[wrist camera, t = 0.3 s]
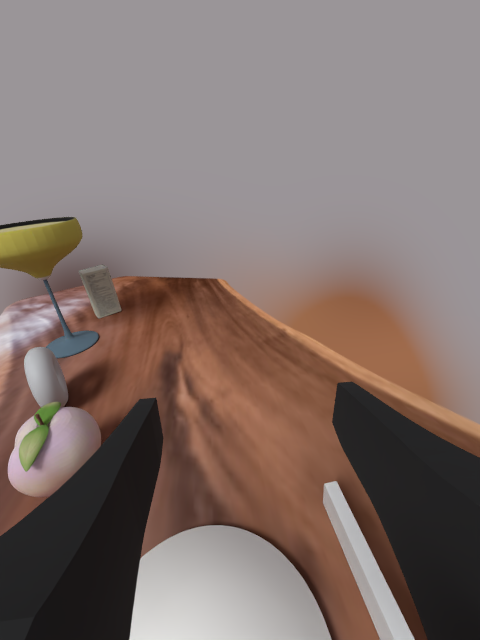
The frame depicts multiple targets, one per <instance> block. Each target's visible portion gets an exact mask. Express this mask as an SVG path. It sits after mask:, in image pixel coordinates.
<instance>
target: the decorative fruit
mask: <svg viewBox="0 0 480 640" xmlns="http://www.w3.org/2000/svg"><path fill="white" fill-rule="evenodd" d="M60 406H61V403H60V402H51V403H48V404H46V405H44V406H43V407H41V408H40V409H39V410H38V411H37V412H36V414H35V415H34V416H33V417H31V418H30V419H29V420H28V421H26V422H25V423H24V424H23V425H22V427H21V428H20V429H19V431H18V433H17V435H16V438H15V448H14V450H13V452H12V453H11V456H10V460H9V464H8V477H9V480H10V483H11V484H12V486H13V487H14V488H16V489H17V490H18V491H19V492H21V493H23V494H26V495H29V496H33V497H49V496H51V495H52V494H53V493H54V492H56V491H57V490H58V489H59V488H60V487H61V486H62V485H63V484H64V483H65V482H66V481H67V480H69V479H70V478H71V477H72V476H73V475H74V474H75V473H76V472H77V471H78V470H79V469H80V468H81V467H82V466H83V465H84V464H85V463H86V462H87V460H88V459H89V458H90V457H91V456H92V455H93V454H94V453H95V452H96V451H97V450H98V449H99V448H100V446H101V433H100V429H99V426H98V424H97V422H96V421H95V420H94V418H93V417H92V416H91V415H90V414H89V413H88V412H86V411H84V410H82V409H79V408H76V407H60Z"/></svg>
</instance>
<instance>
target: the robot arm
mask: <svg viewBox="0 0 480 640" xmlns="http://www.w3.org/2000/svg"><path fill="white" fill-rule="evenodd" d="M332 423H333V425H334V428H335V431H336V434H337V436H338V439H339V441H340V443H341V446H342V448H343V450H344V452H345V454H346V455H347V457H348V459H349V461H350V463H351V465H352V467H353V469H354V470H355V472H356V474H357V476H358V478H359V480H360V481H361V483H362V485H363V487H364V489H365V491H366V492H367V494H368V496H369V498H370V500H371V502H372V504H373V506H374V508H375V510H376V512H377V514H378V516H379V518H380V520H381V523H382V525H383V527H384V530H385V532H386V534H387V536H388V539H389V541H390V543H391V546H392V548H393V551H394V553H395V555H396V558H397V560H398V563H399V565H400V568H401V570H402V573H403V575H404V577H405V580H406V583H407V585H408V588H409V590H410V593H411V596H412V598H413V601H414V603H415V606H416V609H417V611H418V614H419V616H420V619H421V622H422V625H423V627H424V630H425V633H426V636H427V639H428V640H480V458H479V457H477V456H475V455H473V454H471V453H469V452H467V451H465V450H463V449H461V448H459V447H457V446H455V445H453V444H451V443H449V442H447V441H445V440H444V439H442V438H440V437H438V436H436V435H434V434H433V433H431V432H429V431H428V430H426V429H424V428H423V427H421V426H419V425H418V424H416V423H414V422H413V421H411V420H409V419H408V418H406V417H405V416H403V415H401V414H400V413H398V412H397V411H395V410H394V409H392V408H391V407H389V406H388V405H386V404H385V403H383V402H382V401H380V400H379V399H377V398H376V397H375V396H373V395H372V394H370V393H369V392H367V391H366V390H364V389H363V388H361V387H360V386H358V385H357V384H355V383H353V382H343V383H338V384H337V391H336V399H335V406H334V413H333V421H332ZM162 446H163V433H162V428H161V422H160V417H159V411H158V405H157V400H156V398H148V399H140V400H139V401H138V402H137V403H136V404H135V406H134V407H133V408H132V409H131V411H130V412H129V413H128V414H127V416H126V417H125V418H124V419H123V421H122V422H121V423H120V424H119V425H118V427H117V428H116V429H115V430H114V431H113V433H112V434H111V435H110V436H109V437H108V438H107V440H106V441H105V442H104V443H103V444H102V445H101V446H100V448H99V449H98V450H97V451H96V452H95V453H94V454H93V455H92V456H91V457H90V458H89V459H88V460H87V462H86V463H85V464H84V465H83V466H82V467H81V468H80V469H79V470H78V471H77V472H76V473H75V474H74V475H73V476H72V477H71V478H70V479H69V480H67V481H66V482H65V483H64V484H63V485H62V486H61V487H60V488H59V489H58V490H57V491H56V492H54V493H53V494H52V495H51V496H50V497H49V498H47V499H46V500H45V501H44V502H43V503H41V504H40V505H39V506H38V507H37V508H35V509H34V510H33V511H32V512H31V513H29V514H28V515H27V516H26V517H25V518H23V519H22V520H21V521H20V522H19V523H17V524H16V525H15V526H13V527H12V528H11V529H9V530H8V531H7V532H6V533H4V534H3V535H2V536H0V640H129V639H130V631H131V622H132V614H133V607H134V599H135V592H136V584H137V577H138V570H139V563H140V556H141V549H142V543H143V538H144V533H145V528H146V523H147V519H148V515H149V511H150V506H151V502H152V498H153V494H154V489H155V485H156V481H157V477H158V472H159V468H160V463H161V455H162Z"/></svg>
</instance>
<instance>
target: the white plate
mask: <svg viewBox="0 0 480 640" xmlns="http://www.w3.org/2000/svg"><path fill="white" fill-rule="evenodd" d="M129 640H332V639H331V637H330V634H329V631H328V628H327V625H326V623H325V620H324V617H323V615H322V613H321V611H320V608H319V606H318V604H317V602H316V600H315V598H314V596H313V594H312V592H311V591H310V589H309V587H308V586H307V584H306V582H305V581H304V579H303V578H302V576H301V575H300V574H299V572H298V571H297V570H296V568H295V567H294V566H293V564H292V563H291V562H290V561H289V560H288V559H287V558H286V557H285V556H284V555H283V554H282V553H281V552H280V551H279V550H278V549H276V548H275V547H274V546H273V545H272V544H270V543H269V542H267V541H266V540H264V539H262V538H261V537H259V536H258V535H255V534H253V533H251V532H249V531H246V530H243V529H240V528H236V527H231V526H223V525H209V526H202V527H196V528H193V529H190V530H186V531H183V532H181V533H179V534H177V535H174V536H172V537H170V538H168V539H167V540H165V541H163V542H162V543H160V544H158V545H157V546H156V547H154V548H153V549H152V550H150V551H149V552H148V553H146V554H145V555H144V556H143V557H142V558H141V559H140V563H139V570H138V577H137V584H136V592H135V599H134V607H133V614H132V622H131V631H130V639H129Z"/></svg>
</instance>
